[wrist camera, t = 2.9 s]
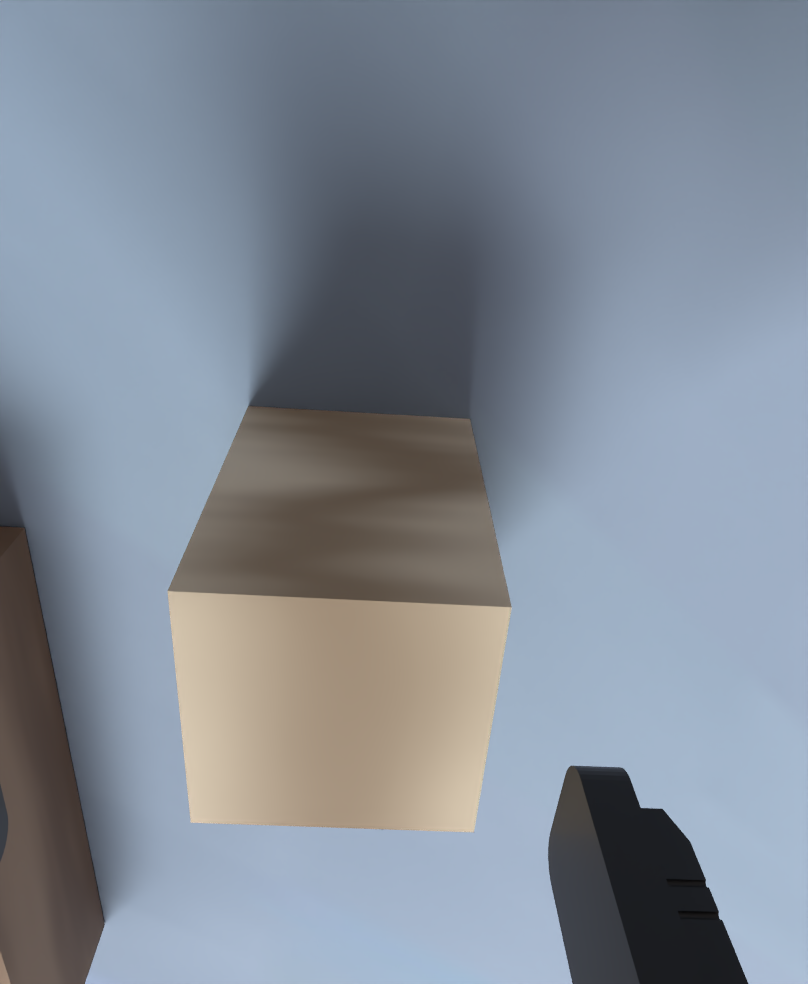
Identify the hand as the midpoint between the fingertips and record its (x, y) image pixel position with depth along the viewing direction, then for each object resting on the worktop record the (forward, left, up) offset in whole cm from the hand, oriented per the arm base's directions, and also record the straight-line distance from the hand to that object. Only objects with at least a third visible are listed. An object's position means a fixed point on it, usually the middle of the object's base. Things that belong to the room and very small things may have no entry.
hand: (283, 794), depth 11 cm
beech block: (-1, 0, -9) cm, 9 cm away
